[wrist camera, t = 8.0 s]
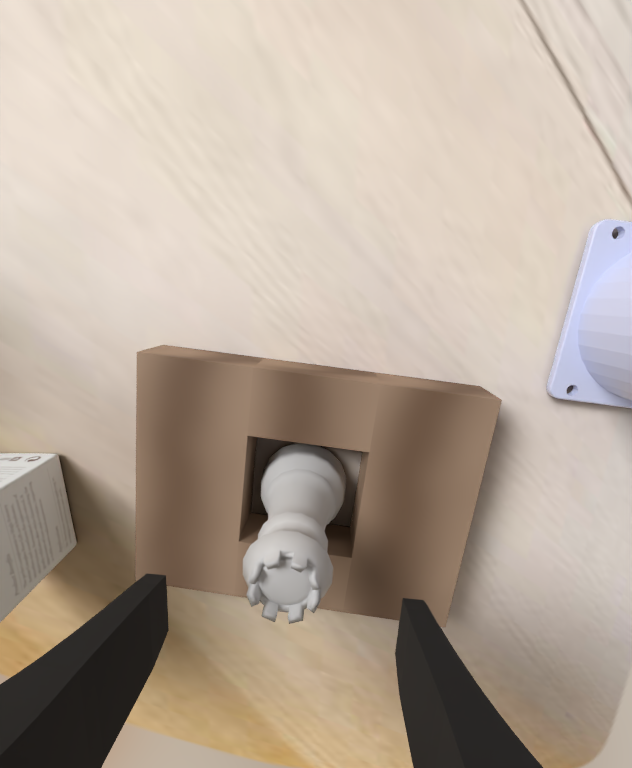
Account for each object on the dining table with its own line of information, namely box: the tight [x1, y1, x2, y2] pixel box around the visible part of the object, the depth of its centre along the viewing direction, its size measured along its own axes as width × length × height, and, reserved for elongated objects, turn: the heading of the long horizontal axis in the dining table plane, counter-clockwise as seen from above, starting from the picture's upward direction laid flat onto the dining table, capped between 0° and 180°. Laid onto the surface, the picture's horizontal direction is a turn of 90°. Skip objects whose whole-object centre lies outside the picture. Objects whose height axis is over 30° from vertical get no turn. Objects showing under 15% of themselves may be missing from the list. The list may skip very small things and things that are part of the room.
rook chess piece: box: [243, 443, 346, 624], centre depth 16 cm, size 4×4×8 cm
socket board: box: [135, 345, 502, 627], centre depth 19 cm, size 16×12×2 cm
